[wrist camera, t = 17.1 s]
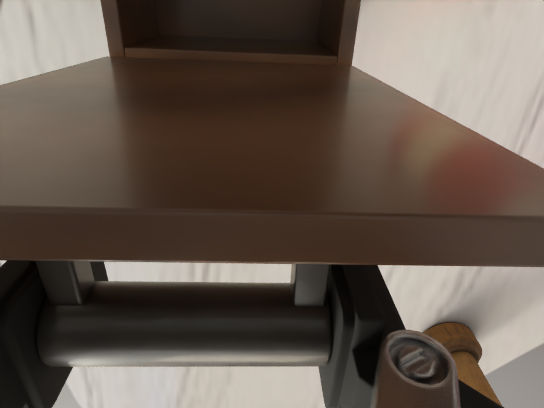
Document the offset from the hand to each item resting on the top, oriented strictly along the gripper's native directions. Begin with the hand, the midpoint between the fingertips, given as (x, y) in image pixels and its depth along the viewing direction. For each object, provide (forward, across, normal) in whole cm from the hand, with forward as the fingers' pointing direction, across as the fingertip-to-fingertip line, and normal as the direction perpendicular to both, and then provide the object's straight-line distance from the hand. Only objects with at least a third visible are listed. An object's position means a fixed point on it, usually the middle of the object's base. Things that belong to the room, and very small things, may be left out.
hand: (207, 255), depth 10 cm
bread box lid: (+3, 0, -4) cm, 5 cm away
